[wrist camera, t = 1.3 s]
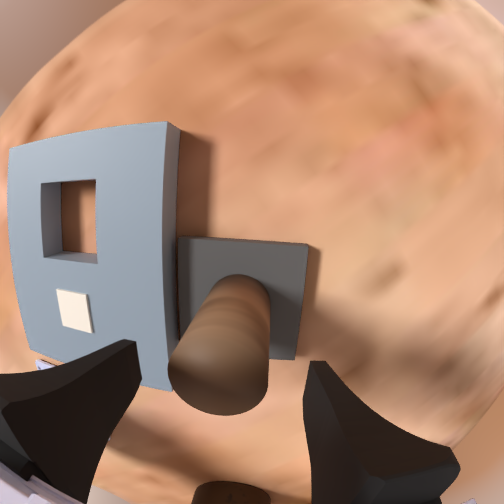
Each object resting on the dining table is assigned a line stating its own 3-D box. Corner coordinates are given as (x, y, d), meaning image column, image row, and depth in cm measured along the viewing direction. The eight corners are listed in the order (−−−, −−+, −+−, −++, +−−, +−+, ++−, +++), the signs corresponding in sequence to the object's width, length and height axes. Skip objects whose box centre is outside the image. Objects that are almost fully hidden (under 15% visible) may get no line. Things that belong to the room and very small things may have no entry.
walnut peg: (267, 334, 18) (263, 419, 11) (208, 328, 19) (172, 407, 11) (272, 276, 17) (272, 342, 10) (208, 271, 18) (163, 330, 10)
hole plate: (181, 373, 21) (171, 393, 18) (45, 338, 22) (29, 350, 19) (180, 129, 17) (166, 120, 14) (28, 149, 18) (8, 148, 15)
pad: (293, 352, 20) (294, 360, 19) (185, 342, 20) (181, 349, 19) (306, 243, 18) (308, 246, 17) (182, 235, 18) (178, 238, 17)
